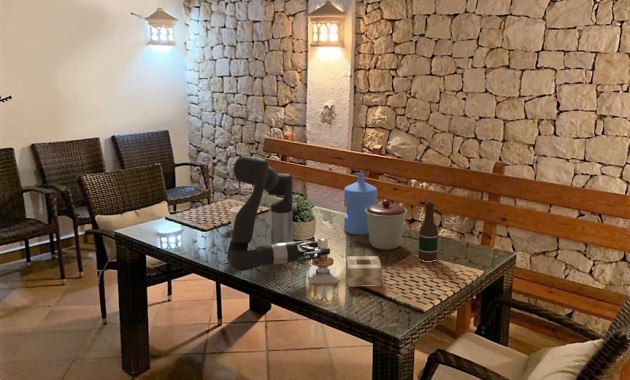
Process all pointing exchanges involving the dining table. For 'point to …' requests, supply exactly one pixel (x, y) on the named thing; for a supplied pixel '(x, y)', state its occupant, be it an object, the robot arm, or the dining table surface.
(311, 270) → the pin stand
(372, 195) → the water jug
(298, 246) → the robot arm
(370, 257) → the block
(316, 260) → the pin
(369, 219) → the canister
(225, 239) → the dining table surface
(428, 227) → the beer bottle
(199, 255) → the dining table surface
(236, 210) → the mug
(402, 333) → the dining table surface
